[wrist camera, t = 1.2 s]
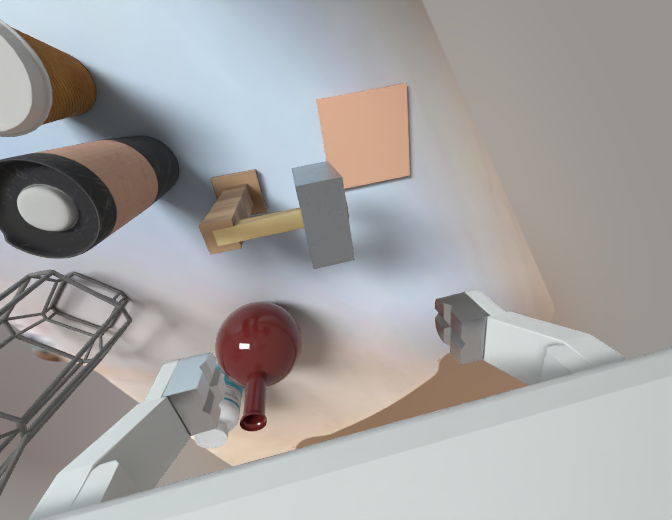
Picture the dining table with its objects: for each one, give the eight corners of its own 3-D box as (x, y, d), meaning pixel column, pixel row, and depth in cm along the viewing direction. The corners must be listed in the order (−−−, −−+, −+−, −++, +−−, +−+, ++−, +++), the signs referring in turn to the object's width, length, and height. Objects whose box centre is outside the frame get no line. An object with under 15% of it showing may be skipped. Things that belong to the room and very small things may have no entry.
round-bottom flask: (240, 275, 48) (216, 372, 30) (311, 300, 52) (327, 397, 35) (212, 334, 52) (178, 448, 34) (280, 352, 57) (281, 462, 39)
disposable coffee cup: (27, 7, 30) (-109, -48, 19) (126, 76, 34) (57, 62, 23) (-1, 90, 32) (-136, 82, 22) (94, 146, 36) (18, 161, 26)
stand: (211, 177, 40) (175, 214, 26) (322, 156, 41) (343, 180, 27) (226, 218, 43) (200, 271, 29) (329, 197, 44) (352, 238, 30)
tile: (316, 99, 38) (316, 99, 37) (404, 83, 39) (406, 83, 38) (331, 189, 44) (332, 191, 43) (407, 174, 45) (409, 175, 44)
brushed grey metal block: (291, 168, 31) (295, 186, 24) (328, 161, 32) (342, 176, 24) (306, 235, 35) (313, 268, 28) (339, 228, 35) (354, 259, 28)
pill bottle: (202, 382, 57) (182, 454, 45) (205, 354, 54) (184, 423, 42) (242, 384, 59) (233, 453, 47) (247, 356, 56) (238, 423, 44)
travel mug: (190, 153, 38) (114, 191, 21) (170, 203, 41) (89, 275, 23) (125, 120, 36) (-24, 132, 18) (109, 176, 38) (-37, 234, 21)
